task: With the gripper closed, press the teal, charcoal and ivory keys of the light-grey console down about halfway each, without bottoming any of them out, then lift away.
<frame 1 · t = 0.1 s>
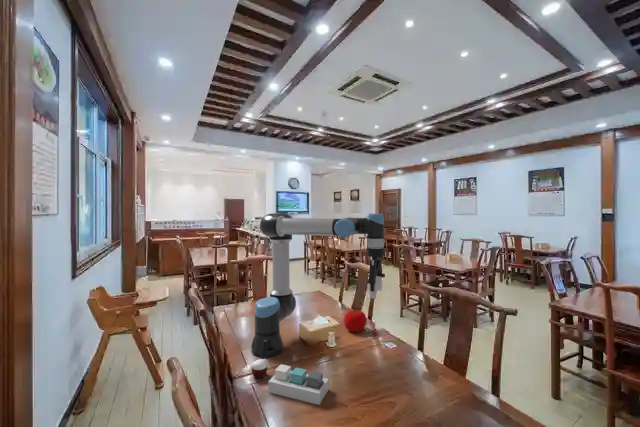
hand: (375, 294, 138), 28 cm above the table, fingers open, 13 cm apart
charcoal key: (314, 380, 109), point 5 cm above the table, slide at 0.0 cm
cocoa: (260, 375, 122), on the table
ivory key: (283, 373, 114), point 5 cm above the table, slide at 0.0 cm
console: (298, 390, 111), on the table
red apple: (355, 330, 166), on the table
teal key: (298, 376, 111), point 5 cm above the table, slide at 0.0 cm
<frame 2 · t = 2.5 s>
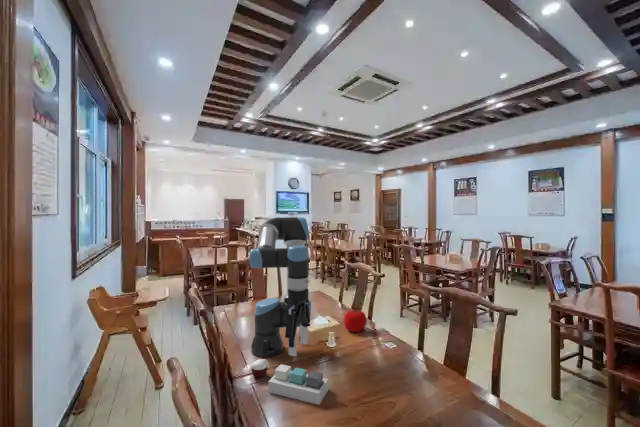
hand: (298, 349, 111), 15 cm above the table, fingers open, 9 cm apart
nothing on the table moved.
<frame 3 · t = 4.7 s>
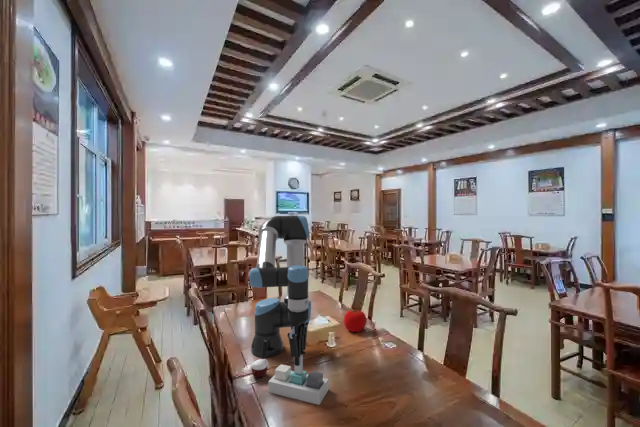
hand: (298, 372, 111), 7 cm above the table, fingers closed
teal key: (298, 378, 111), point 5 cm above the table, slide at 0.6 cm, touching gripper
everything else where it was.
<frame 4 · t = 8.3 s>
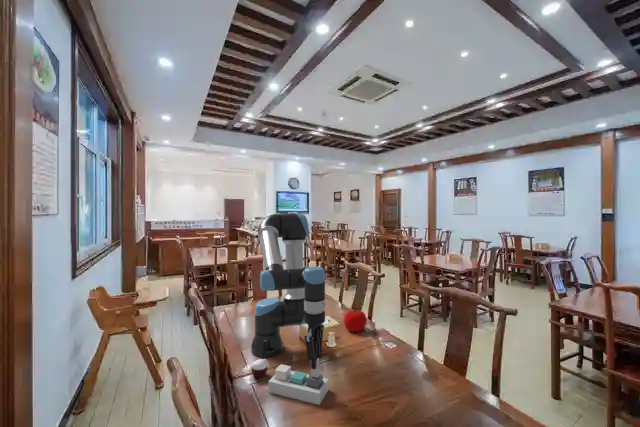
hand: (315, 376, 109), 7 cm above the table, fingers closed
charcoal key: (315, 382, 109), point 5 cm above the table, slide at 0.6 cm, touching gripper
teal key: (298, 380, 111), point 4 cm above the table, slide at 1.4 cm
everything else where it was.
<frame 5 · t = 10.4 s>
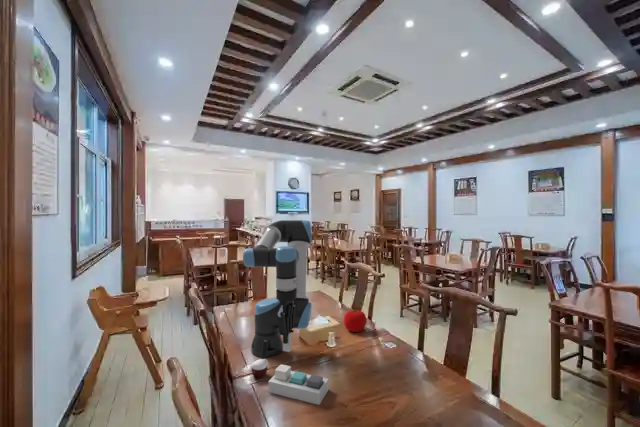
hand: (287, 350, 114), 14 cm above the table, fingers closed
charcoal key: (315, 384, 109), point 4 cm above the table, slide at 1.4 cm
everything else where it was.
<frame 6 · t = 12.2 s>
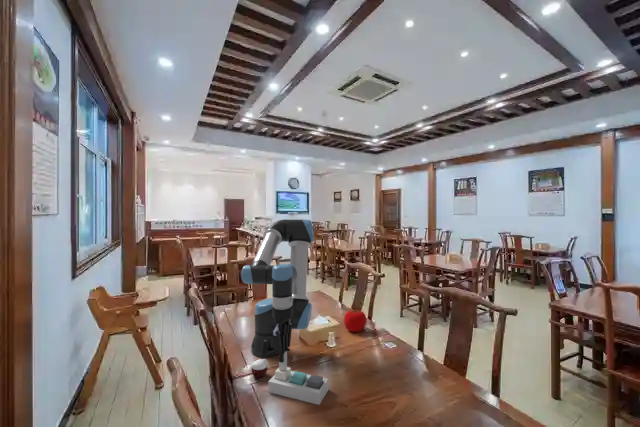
hand: (282, 369, 114), 7 cm above the table, fingers closed
ivory key: (283, 374, 114), point 5 cm above the table, slide at 0.5 cm, touching gripper
everything else where it was.
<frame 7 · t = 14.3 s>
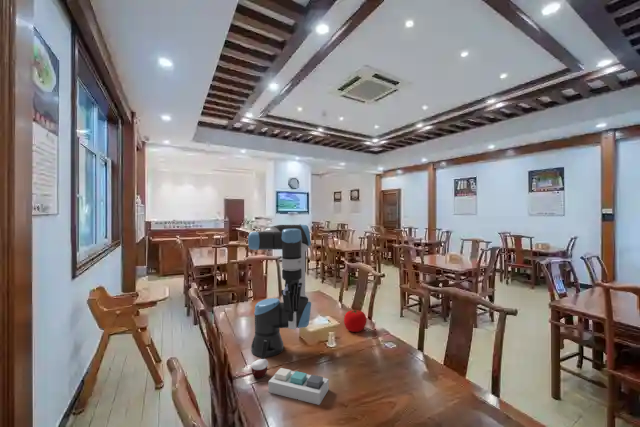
hand: (292, 328, 118), 20 cm above the table, fingers closed
ivory key: (283, 377, 114), point 4 cm above the table, slide at 1.4 cm
everything else where it was.
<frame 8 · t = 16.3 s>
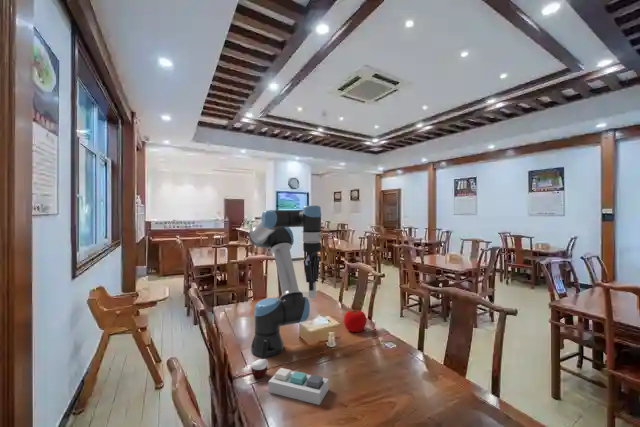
hand: (312, 297, 128), 29 cm above the table, fingers closed
nothing on the table moved.
at the end: teal key slide at 1.4 cm; charcoal key slide at 1.4 cm; ivory key slide at 1.4 cm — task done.
